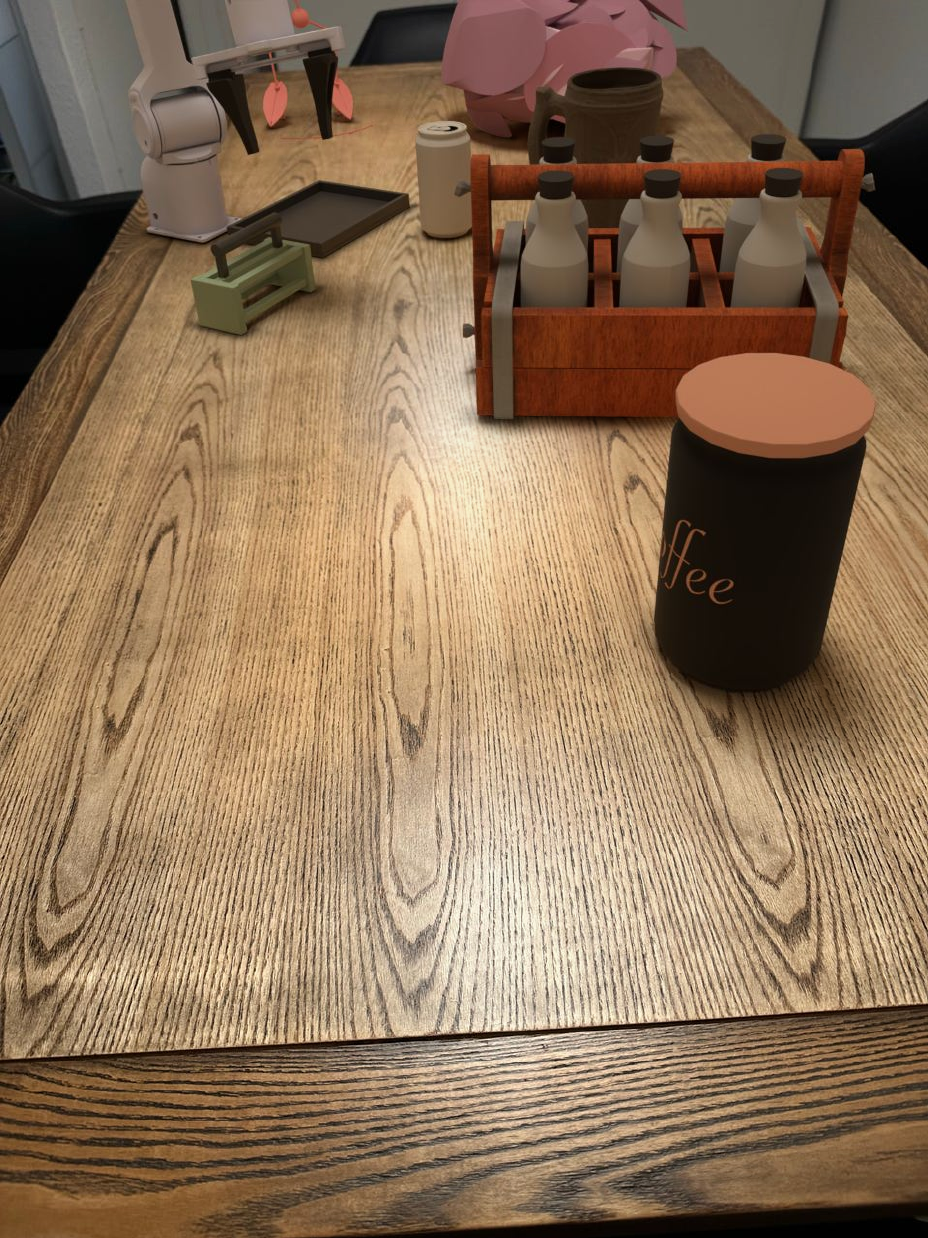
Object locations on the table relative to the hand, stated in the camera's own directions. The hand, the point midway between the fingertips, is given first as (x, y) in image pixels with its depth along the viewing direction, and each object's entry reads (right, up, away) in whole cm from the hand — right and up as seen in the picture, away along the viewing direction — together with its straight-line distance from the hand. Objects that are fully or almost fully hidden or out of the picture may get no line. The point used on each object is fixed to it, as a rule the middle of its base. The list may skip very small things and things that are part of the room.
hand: (290, 146), depth 106 cm
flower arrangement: (+32, +28, +57) cm, 71 cm away
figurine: (-7, +30, +63) cm, 70 cm away
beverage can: (+15, +1, +25) cm, 29 cm away
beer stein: (+31, -7, +15) cm, 35 cm away
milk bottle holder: (+34, -23, -5) cm, 42 cm away
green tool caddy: (-5, -13, +9) cm, 17 cm away
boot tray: (-1, +3, +29) cm, 29 cm away
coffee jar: (+35, -49, -36) cm, 70 cm away
